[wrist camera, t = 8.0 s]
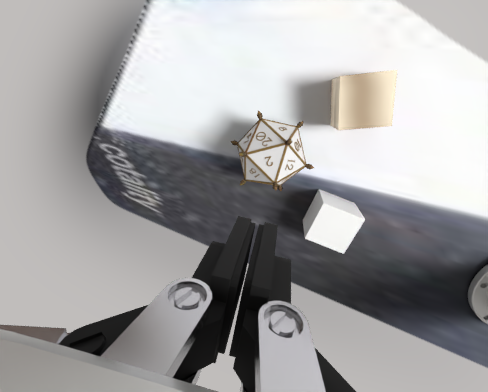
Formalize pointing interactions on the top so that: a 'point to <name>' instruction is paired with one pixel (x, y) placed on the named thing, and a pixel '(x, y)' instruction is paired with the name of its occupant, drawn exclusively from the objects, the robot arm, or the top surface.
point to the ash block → (363, 100)
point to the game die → (271, 153)
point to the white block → (332, 221)
